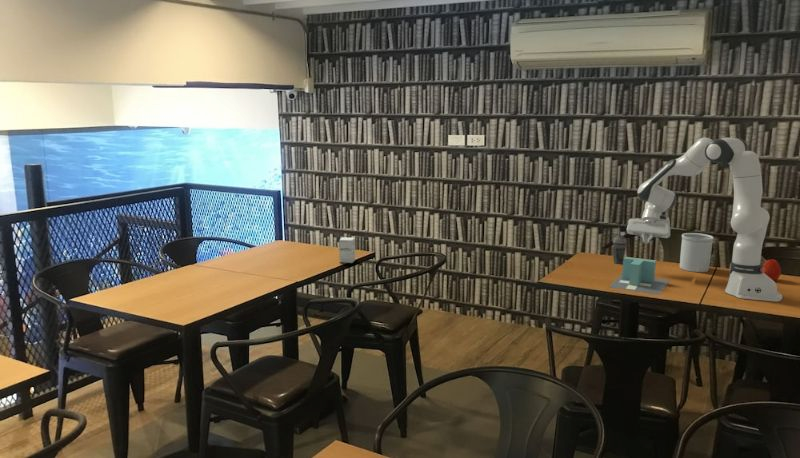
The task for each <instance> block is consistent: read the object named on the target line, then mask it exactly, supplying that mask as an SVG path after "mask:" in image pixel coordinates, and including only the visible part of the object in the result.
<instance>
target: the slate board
mask: <svg viewBox="0 0 800 458" xmlns="http://www.w3.org/2000/svg"><path fill="white" fill-rule="evenodd" d="M669 282H670V279H664V278H656V277H655V280H654V282H653V283H650V282H643V281H642V282H641V283H640V284H639V285H638V286H635V285H629V280H628V279H622V273H621V274H620V275H619V276H618V277H617V278H616V279H615V280H614V281H613V282H612V283H611V285H609V289H610V288H611V289H617V290H618V289H619V290H625V291H632V292H633V291H634V292H638V293H639V292H640V293H647V294H652V295H661V293H662V292H663V290H664V289H665V288H666V286H667V285H668V283H669Z"/></svg>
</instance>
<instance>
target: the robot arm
mask: <svg viewBox="0 0 800 458" xmlns="http://www.w3.org/2000/svg"><path fill="white" fill-rule="evenodd" d="M710 162H712V163H714V164H719V165H724V166H727V165H729V166H730V167H731V169H732V171H731V172H732V181H733V182H732V183H733V185H732V186H733V205H732V215H731V219H730V226H731V228H732V230H733V231H734V232H735V233H737V235H736V238H735V241H734V243H733V248H732V256H731V261H730V264H729V278H728V282H727V285H726V287H725V290H724V292H725V293H727V295H731V296H734V297H736V298H739V299H741V300H742V299H745V300H755V301H764V302H775V303H776V302H777V303H778V302H782V301H783V294H781V293H780V292H779V291H778V285H777V283H776V282H775V281H773V280H772V279H771V278H769V277H768V276H767V275H766V274H765V273H764V272H765V271H766V269H765V267H764V265H763V264H762V263H761V258H762V250H763V244H764V240H765V237H766V233H767V230H768V229H767V228H768V224H769V223H770V218H771V217H770V213H769V211H768V210H767V209H765V208H764V207H762V206H761V205H762V204H761V203H762V197H763V194H764V191H763V189H764V188H763V179H762V178H763V176H762V167H761V163H760V159H759V156H758V154H757V153H756V152H754V151H751V150H749V145H748V143H747V142H746V140H744V139H742V138H741V137H722V138H716V139H711V138H710V137H701V138H699V139H698V140H697V141H695V142H694V143H693V144H692V145H691V146H690V147H689V148H688V149H687V151H686V152H685V153H684V154H682V156H680V157H678V158H672V159H670V160H669V161H667V162H666V163H665V164H664V165H662V166H661V167H660V168H659V169H658V170H657V171H656V172H655V173H654V174H652V175H651V176H650V177H649V178H648V179H646V180H645V181H643V182H641V184H640V185H639V187H638V188H637V190H636V191H637V192H636V194H637V197H638V199H639V200H640V201H643V202H645V204H644V210H643V212H642V216H641V217H631V218H629V219H628V220H627V227H626V232H627V235H628V234H629V235H635V236H641V238H642V243H645V244H650V241H651V240H652V239H653V237H654V238H662V239H663V238H664V239H668V238H670V237H671V224H670V223H671V222H670V217H669V216H666V215H663V213H664V212H665V213H666V212H669V211H670V210H672V209H674V207H675V205H676V202H677V195H676V193H675V192H674V191H672V190H670V189H667V188H665V187H662V186H660V185H659V184H660V183H661V182H663V181H664V180H665V179H666V178H667V177H670V176H683V177H692V176H697V175H699V174H701V173H702V171H704V170H705V169H706V167H707V166H708V165H709V164H710Z"/></svg>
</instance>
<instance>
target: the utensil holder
mask: <svg viewBox="0 0 800 458" xmlns="http://www.w3.org/2000/svg"><path fill="white" fill-rule="evenodd" d="M713 241H714V236H713V235H709V234H706V233H697V232H686V233H685V232H684V233H682V234H681V246H680V257H679V258H680V259H679V268H680V269H681V270H684V271H688V272H692V273H693V272H694V273H706V272H708V271H710V270H709V269H710V263H711V257H712V256H711V255H712V249H713Z"/></svg>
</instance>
